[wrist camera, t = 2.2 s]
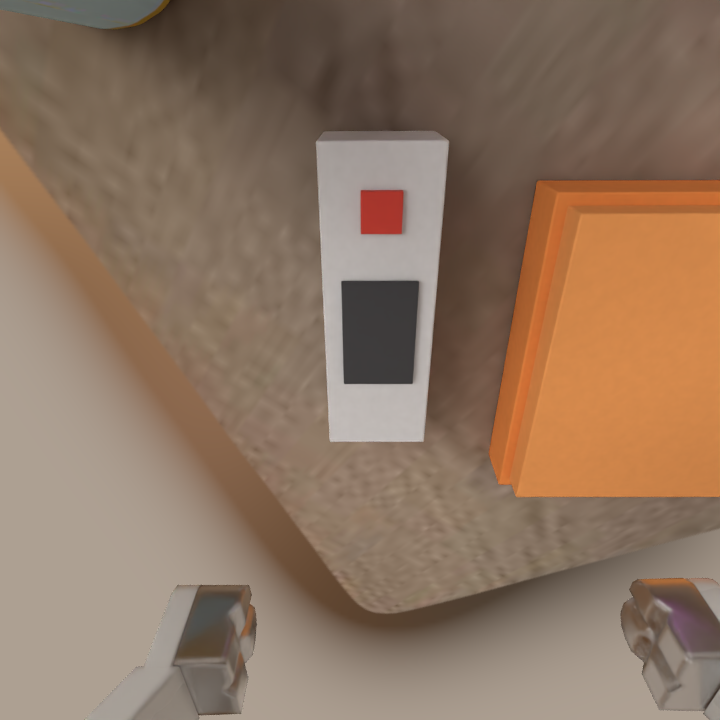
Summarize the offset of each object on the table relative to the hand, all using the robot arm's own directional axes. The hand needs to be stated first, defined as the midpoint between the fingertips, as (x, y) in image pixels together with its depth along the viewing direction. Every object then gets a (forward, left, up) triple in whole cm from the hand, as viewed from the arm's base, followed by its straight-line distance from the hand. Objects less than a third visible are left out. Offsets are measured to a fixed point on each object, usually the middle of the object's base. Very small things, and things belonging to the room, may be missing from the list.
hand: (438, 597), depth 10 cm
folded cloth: (+2, +14, -16) cm, 21 cm away
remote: (-1, -1, -16) cm, 16 cm away
